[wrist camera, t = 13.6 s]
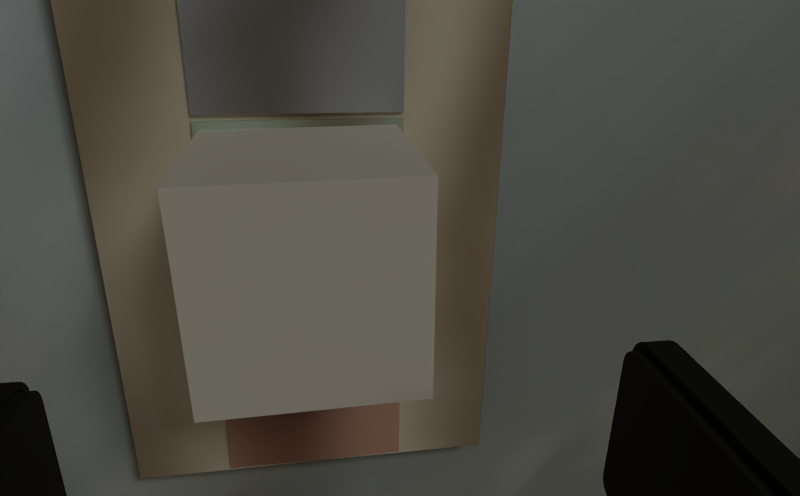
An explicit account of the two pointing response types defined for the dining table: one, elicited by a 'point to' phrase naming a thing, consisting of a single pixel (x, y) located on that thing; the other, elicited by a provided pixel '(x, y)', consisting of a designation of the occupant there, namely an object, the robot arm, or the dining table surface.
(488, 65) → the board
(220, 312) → the cream cube
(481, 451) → the dining table surface
